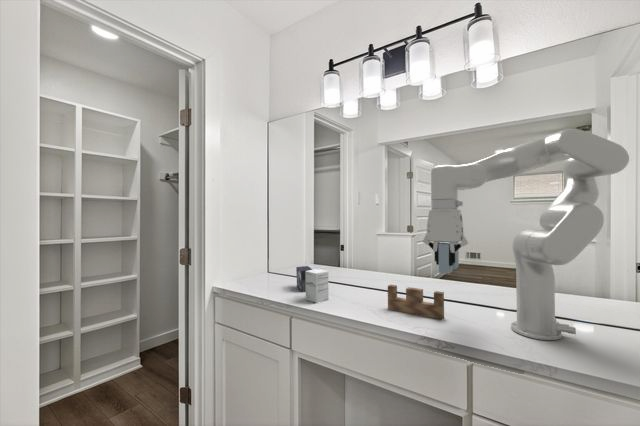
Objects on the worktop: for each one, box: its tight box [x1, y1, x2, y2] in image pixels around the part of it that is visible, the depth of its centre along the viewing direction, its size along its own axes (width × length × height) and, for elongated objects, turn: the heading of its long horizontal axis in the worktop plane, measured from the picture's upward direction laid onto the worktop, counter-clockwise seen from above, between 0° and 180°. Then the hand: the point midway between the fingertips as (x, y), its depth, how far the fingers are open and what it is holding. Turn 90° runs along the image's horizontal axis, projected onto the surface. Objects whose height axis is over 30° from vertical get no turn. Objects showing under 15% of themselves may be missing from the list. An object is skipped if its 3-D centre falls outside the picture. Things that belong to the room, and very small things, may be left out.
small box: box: [295, 265, 314, 293], centre depth 145 cm, size 11×6×10 cm, turn 17°
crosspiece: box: [438, 242, 460, 275], centre depth 96 cm, size 3×14×9 cm, turn 144°
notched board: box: [387, 284, 445, 321], centre depth 109 cm, size 20×2×9 cm, turn 53°
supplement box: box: [305, 268, 329, 304], centre depth 127 cm, size 7×7×13 cm
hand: (444, 264), depth 91 cm, fingers closed on crosspiece, 3 cm apart
